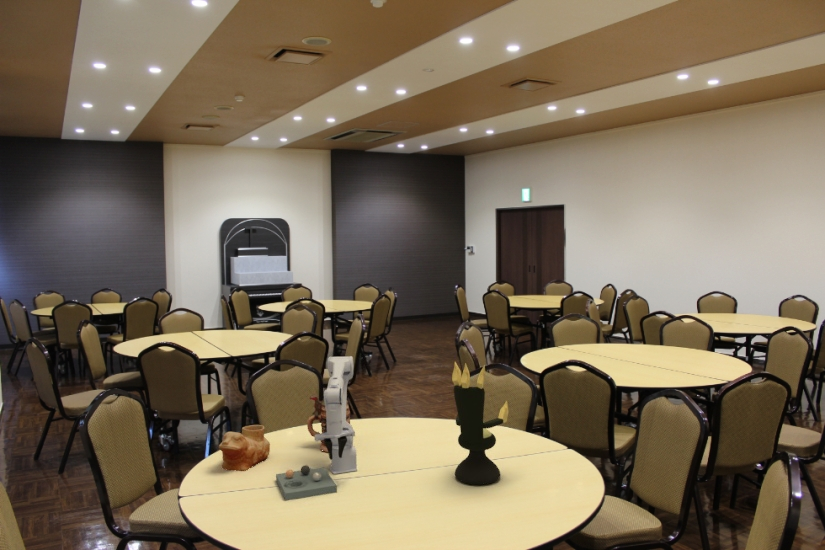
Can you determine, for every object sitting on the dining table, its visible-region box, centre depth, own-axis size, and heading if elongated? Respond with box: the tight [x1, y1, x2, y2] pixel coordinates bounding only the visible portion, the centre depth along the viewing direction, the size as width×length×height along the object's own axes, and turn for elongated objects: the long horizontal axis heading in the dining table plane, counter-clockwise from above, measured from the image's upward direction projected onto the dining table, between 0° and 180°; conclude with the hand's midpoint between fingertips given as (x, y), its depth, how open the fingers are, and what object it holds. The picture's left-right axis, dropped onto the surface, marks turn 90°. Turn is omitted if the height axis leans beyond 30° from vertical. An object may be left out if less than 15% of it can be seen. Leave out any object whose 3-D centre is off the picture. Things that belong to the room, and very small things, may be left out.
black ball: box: [300, 464, 311, 475], centre depth 241 cm, size 3×3×3 cm
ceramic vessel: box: [218, 424, 271, 472], centre depth 262 cm, size 14×26×15 cm, turn 158°
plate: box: [275, 466, 338, 501], centre depth 236 cm, size 18×20×2 cm
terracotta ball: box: [285, 469, 294, 478], centre depth 238 cm, size 3×3×3 cm
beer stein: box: [306, 394, 351, 453], centre depth 279 cm, size 17×28×18 cm
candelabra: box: [451, 361, 509, 486], centre depth 237 cm, size 19×22×45 cm
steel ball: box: [312, 472, 321, 481], centre depth 235 cm, size 3×3×3 cm
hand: (335, 457), depth 237 cm, fingers open, 3 cm apart
